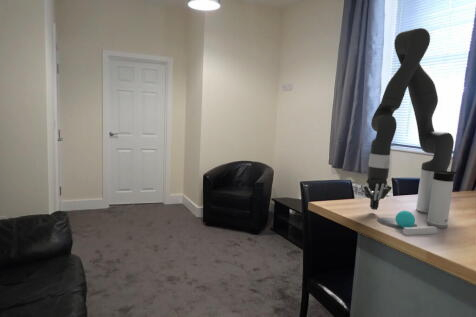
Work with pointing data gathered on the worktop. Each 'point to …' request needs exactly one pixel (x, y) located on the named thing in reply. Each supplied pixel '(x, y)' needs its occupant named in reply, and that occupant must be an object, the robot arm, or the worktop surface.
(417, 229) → the wall
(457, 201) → the worktop surface
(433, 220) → the travel mug
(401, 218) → the ball
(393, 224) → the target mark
